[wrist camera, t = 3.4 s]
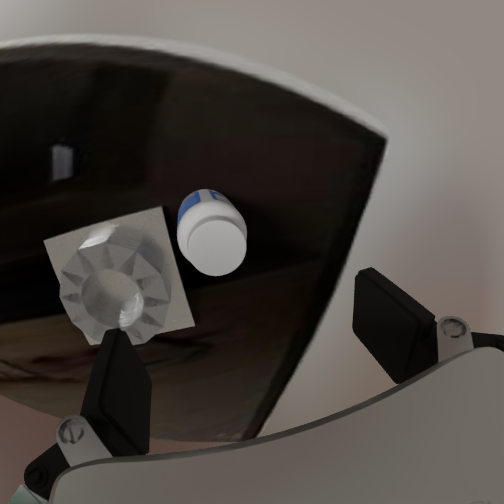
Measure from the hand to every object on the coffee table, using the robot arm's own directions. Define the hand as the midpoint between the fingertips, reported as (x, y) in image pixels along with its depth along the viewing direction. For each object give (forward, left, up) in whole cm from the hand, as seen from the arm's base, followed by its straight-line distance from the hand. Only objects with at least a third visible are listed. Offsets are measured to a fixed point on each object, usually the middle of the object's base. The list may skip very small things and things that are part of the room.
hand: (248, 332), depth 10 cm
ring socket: (+5, -11, -19) cm, 22 cm away
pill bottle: (0, 0, -19) cm, 19 cm away
